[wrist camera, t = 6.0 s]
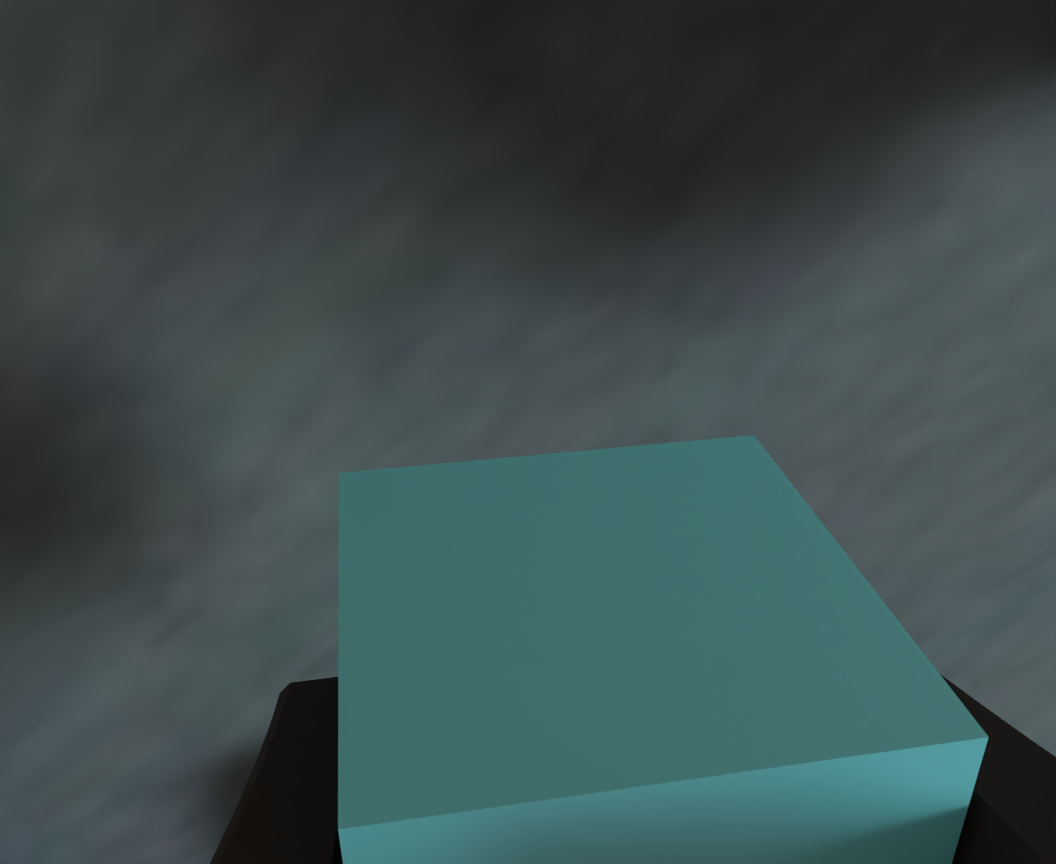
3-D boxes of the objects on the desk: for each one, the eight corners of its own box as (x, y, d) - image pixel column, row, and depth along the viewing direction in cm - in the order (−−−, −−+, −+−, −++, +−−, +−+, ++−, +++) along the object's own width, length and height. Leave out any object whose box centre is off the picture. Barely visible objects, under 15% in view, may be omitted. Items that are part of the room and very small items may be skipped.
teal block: (753, 435, 11) (988, 737, 7) (719, 735, 13) (883, 1095, 9) (338, 473, 10) (339, 830, 6) (374, 781, 12) (390, 1192, 8)
